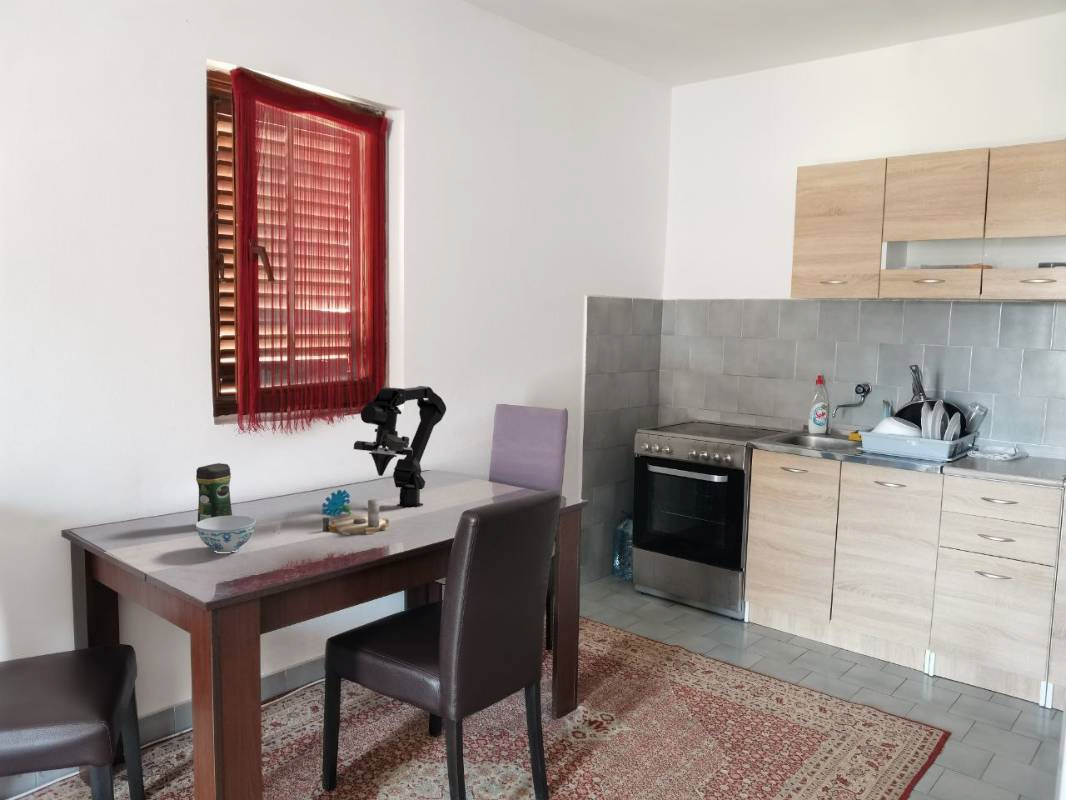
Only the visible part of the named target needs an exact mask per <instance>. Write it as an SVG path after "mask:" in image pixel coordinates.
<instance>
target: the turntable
mask: <svg viewBox="0 0 1066 800" xmlns="http://www.w3.org/2000/svg"><path fill="white" fill-rule="evenodd" d="M389 524H390V521H389V519H388V518H381V517H380V500H379V499H376V498H375V499H374V498H372V499H368V500H367V515H365V516H364V515H359V516H357V515H356V516H355V515H347V517H343V518H340V519H339V518H338V519H332V520H331V524H329V531H330V532H338V533H340V534H342V535H343V536H344V535H346V536H350V535H362V534H363V535H364V534H365V535H372V534H374V533H377V532H380V531H387V530H389Z"/></svg>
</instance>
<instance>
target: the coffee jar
mask: <svg viewBox="0 0 1066 800" xmlns="http://www.w3.org/2000/svg"><path fill="white" fill-rule="evenodd" d="M231 474H232V473H231V468H230V466H229V464H227V463H222V462H221V463H220V462H219V463H218V462H217V463H212V464H208V465H207V464H206V465H202V466H199V467H198V468H197V469H196V475H195V477H196V478H195V479H196V483H197V487H198V505H197V507H198V508H197V510H198V512H197V522H199V521H201V520H204V519H208V518H213V517H220V516H233V512H232V511H233V510H232V502H231V493H230V482H231V477H232V475H231Z"/></svg>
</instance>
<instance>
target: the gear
mask: <svg viewBox="0 0 1066 800" xmlns="http://www.w3.org/2000/svg"><path fill="white" fill-rule="evenodd" d="M330 495H331V497H329V496H327V497H326V498H325V499H324V500H325V501H326V502H327V503H326V502H323V503H322V504H321V506H322V509H321V512H322V513H323V514H324V515H325V516H330V517H334V516H336V514H337V516H339V515H341V514H342V512H344V513H347V514H349V515H352V514H353V513H352V512H351V506H350V505H349V504H350V503H351V500H350V498H351V494H350V493H349V492H347V490H346V489H344V490H343V491H342V490H341V489H338V490H337V491H336V492H335V491H333V492H331V493H330ZM345 503H346V504H345Z"/></svg>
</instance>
